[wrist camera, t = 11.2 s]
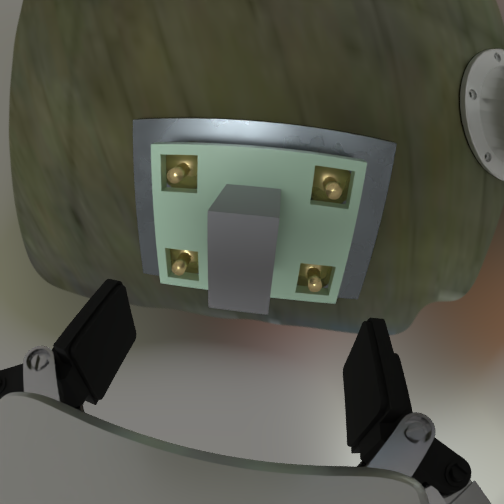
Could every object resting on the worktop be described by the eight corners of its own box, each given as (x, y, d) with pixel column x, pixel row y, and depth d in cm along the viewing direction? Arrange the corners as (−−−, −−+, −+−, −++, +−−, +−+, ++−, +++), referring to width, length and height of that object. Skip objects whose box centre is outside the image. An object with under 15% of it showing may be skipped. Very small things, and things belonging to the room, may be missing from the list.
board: (363, 159, 18) (393, 183, 12) (333, 296, 23) (343, 350, 18) (156, 142, 19) (111, 159, 13) (164, 276, 24) (135, 323, 19)
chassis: (391, 141, 20) (417, 152, 15) (355, 291, 26) (365, 327, 22) (139, 118, 21) (107, 125, 16) (148, 266, 28) (126, 296, 23)
